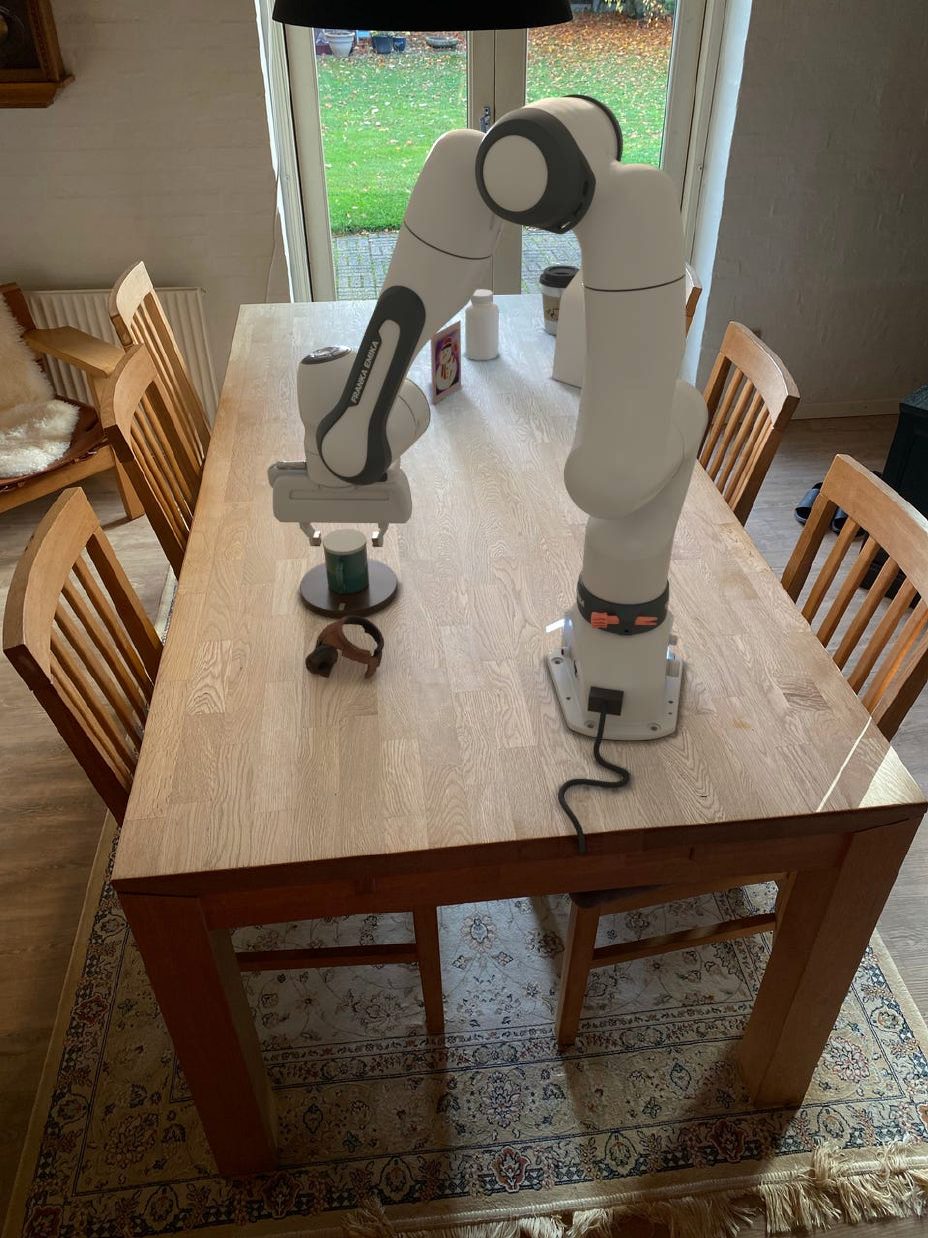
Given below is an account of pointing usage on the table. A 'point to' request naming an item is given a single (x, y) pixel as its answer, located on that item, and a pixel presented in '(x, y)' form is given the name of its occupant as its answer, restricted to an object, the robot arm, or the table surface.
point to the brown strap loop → (344, 647)
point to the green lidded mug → (346, 560)
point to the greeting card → (446, 361)
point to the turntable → (358, 603)
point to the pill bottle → (481, 326)
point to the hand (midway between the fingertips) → (347, 544)
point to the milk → (570, 335)
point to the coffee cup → (554, 292)
